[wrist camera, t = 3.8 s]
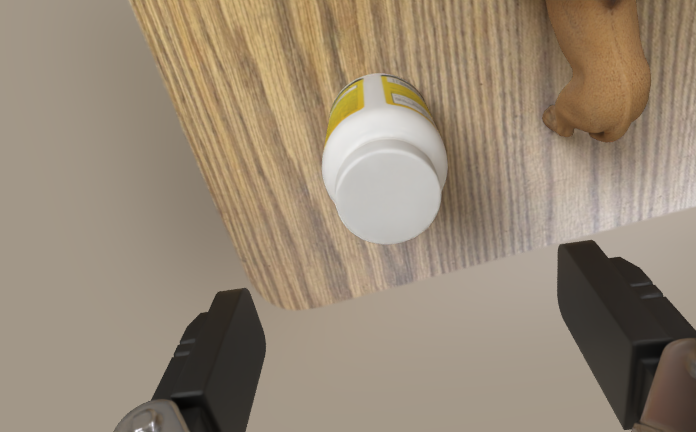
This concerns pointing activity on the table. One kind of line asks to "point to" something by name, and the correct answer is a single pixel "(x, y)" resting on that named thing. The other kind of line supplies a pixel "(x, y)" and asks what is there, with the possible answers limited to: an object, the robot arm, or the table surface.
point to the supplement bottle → (383, 160)
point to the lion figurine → (599, 68)
